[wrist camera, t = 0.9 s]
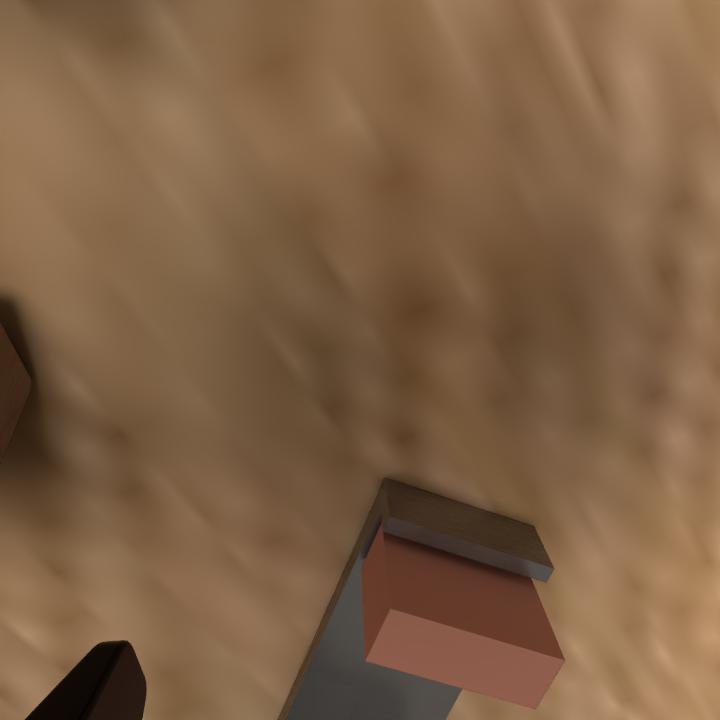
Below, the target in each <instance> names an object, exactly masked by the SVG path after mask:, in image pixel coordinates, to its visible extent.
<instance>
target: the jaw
mask: <svg viewBox="0 0 720 720" xmlns="http://www.w3.org/2000/svg"><path fill="white" fill-rule="evenodd" d="M361 571H362V594H363V617H364V640H365V661H367V662H371V663H374V664H378V665H381V666H385V667H388V668H392V669H395V670H399V671H402V672H406V673H409V674H413V675H417V676H420V677H424V678H427V679H431V680H434V681H438V682H441V683H445V684H448V685H452V686H455V687H459V688H462V689H466V690H469V691H473V692H477V693H480V694H484V695H487V696H491V697H494V698H498V699H501V700H505V701H508V702H512V703H515V704H519V705H522V706H526V707H530V708H533V709H536V708H537V707H538V705H539V703H540V702H541V700H542V698H543V696H544V695H545V693H546V691H547V690H548V688H549V686H550V685H551V683H552V681H553V680H554V678H555V676H556V675H557V673H558V671H559V670H560V668H561V666H562V665H563V663H564V661H565V659H564V657H563V654H562V652H561V649H560V647H559V645H558V642H557V640H556V637H555V635H554V632H553V630H552V628H551V625H550V623H549V620H548V618H547V615H546V613H545V611H544V608H543V606H542V603H541V601H540V598H539V596H538V594H537V591H536V589H535V586H534V584H533V581H532V579H531V578H530V577H527V576H524V575H521V574H517V573H514V572H511V571H508V570H505V569H502V568H498V567H495V566H492V565H489V564H486V563H482V562H479V561H476V560H473V559H470V558H466V557H463V556H460V555H457V554H454V553H450V552H447V551H444V550H441V549H438V548H434V547H431V546H428V545H425V544H422V543H419V542H415V541H412V540H409V539H406V538H403V537H399V536H396V535H393V534H390V533H387V532H383V529H382V523H381V525H380V528H379V530H378V532H377V534H376V537H375V539H374V541H373V543H372V545H371V548H370V550H369V552H368V554H367V557H366V559H365V561H364V563H363V565H362V568H361Z"/></svg>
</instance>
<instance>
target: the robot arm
mask: <svg viewBox="0 0 720 720" xmlns="http://www.w3.org/2000/svg"><path fill="white" fill-rule="evenodd" d="M146 690H147V688H146V680H145V676H144V674H143V671H142V669H141V666H140V664H139V661H138V659H137V656H136V654H135V651H134V649H133V647H132V645H131V644H130V643H129V642H128V641H125V640H121V641H107V642H101V643H99V644H97V645H96V646H95V647H93V648H92V649H91V650H90V652H89V653H88V654H87V655H86V656H85V657H84V658H83V659H82V660H81V661H80V662H79V663H78V664H77V665H76V666H75V667H74V668H73V669H72V670H71V671H70V673H69V674H68V675H67V676H66V677H65V678H64V679H63V680H62V681H61V682H60V683H59V684H58V685H57V686H56V687H55V688H54V689H53V690H52V691H51V692H50V694H49V695H48V696H47V697H46V698H45V699H44V700H43V701H42V702H41V703H40V704H39V705H38V706H37V707H36V708H35V709H34V710H33V711H32V712H31V713H30V715H29V716H28V717H27V718H26V719H25V720H142V717H143V712H144V706H145V700H146Z"/></svg>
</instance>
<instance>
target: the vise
mask: <svg viewBox="0 0 720 720" xmlns="http://www.w3.org/2000/svg"><path fill="white" fill-rule="evenodd" d="M381 523H382V529H383V532H387V533H390V534H393V535H396V536H399V537H403V538H406V539H409V540H412V541H415V542H419V543H422V544H425V545H428V546H431V547H434V548H438V549H441V550H444V551H447V552H450V553H454V554H457V555H460V556H463V557H466V558H470V559H473V560H476V561H479V562H482V563H486V564H489V565H492V566H495V567H498V568H502V569H505V570H508V571H511V572H514V573H517V574H521V575H524V576H527V577H530V578H533V579H537V580H540V581H543V582H547V581H548V579H549V577H550V575H551V574H552V572H553V570H554V567H553V565H552V563H551V561H550V559H549V557H548V554H547V552H546V550H545V548H544V546H543V544H542V542H541V540H540V537H539V535H538V533H537V531H536V529H535V527H534V526H531V525H528V524H524V523H521V522H518V521H515V520H512V519H509V518H506V517H503V516H500V515H497V514H494V513H491V512H488V511H484V510H481V509H478V508H475V507H472V506H469V505H466V504H463V503H460V502H457V501H454V500H451V499H448V498H445V497H441V496H438V495H435V494H432V493H429V492H426V491H423V490H420V489H417V488H414V487H411V486H408V485H405V484H402V483H398V482H395V481H392V480H389V479H386V478H385V479H384V481H383V483H382V486H381V488H380V490H379V492H378V495H377V497H376V499H375V502H374V504H373V506H372V508H371V511H370V513H369V515H368V517H367V520H366V522H365V524H364V526H363V529H362V531H361V533H360V536H359V538H358V540H357V542H356V545H355V547H354V549H353V551H352V554H351V556H350V558H349V560H348V563H347V565H346V567H345V569H344V572H343V574H342V576H341V579H340V581H339V583H338V585H337V588H336V590H335V592H334V594H333V597H332V599H331V601H330V603H329V606H328V608H327V610H326V613H325V615H324V617H323V619H322V622H321V624H320V626H319V628H318V631H317V633H316V635H315V637H314V640H313V642H312V644H311V647H310V649H309V651H308V653H307V656H306V658H305V660H304V662H303V665H302V667H301V669H300V671H299V674H298V676H297V678H296V681H295V683H294V685H293V687H292V690H291V692H290V694H289V696H288V699H287V701H286V703H285V705H284V708H283V710H282V712H281V715H280V717H279V719H278V720H445V719H446V718H447V716H448V714H449V712H450V710H451V708H452V707H453V705H454V703H455V701H456V699H457V697H458V696H459V694H460V692H461V690H462V688H459V687H455V686H452V685H448V684H445V683H441V682H438V681H434V680H431V679H427V678H424V677H420V676H417V675H413V674H409V673H406V672H402V671H399V670H395V669H392V668H388V667H385V666H381V665H378V664H374V663H371V662H367V661H365V640H364V617H363V594H362V571H361V568H362V565H363V563H364V561H365V559H366V557H367V554H368V552H369V550H370V548H371V545H372V543H373V541H374V539H375V537H376V534H377V532H378V530H379V528H380V525H381Z"/></svg>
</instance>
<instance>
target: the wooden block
mask: <svg viewBox="0 0 720 720" xmlns="http://www.w3.org/2000/svg"><path fill="white" fill-rule="evenodd" d="M30 390H31V378H30V376H29V374H28V372H27V371H26V369H25V367H24V365H23V363H22V361H21V360H20V358H19V356H18V354H17V352H16V350H15V349H14V347H13V345H12V343H11V341H10V339H9V338H8V336H7V334H6V332H5V330H4V328H3V326H2V325H1V323H0V463H1V460H2V458H3V456H4V453H5V451H6V448H7V446H8V444H9V441H10V439H11V436H12V434H13V431H14V429H15V427H16V424H17V422H18V419H19V417H20V414H21V412H22V410H23V407H24V405H25V402H26V400H27V398H28V395H29V393H30Z"/></svg>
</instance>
